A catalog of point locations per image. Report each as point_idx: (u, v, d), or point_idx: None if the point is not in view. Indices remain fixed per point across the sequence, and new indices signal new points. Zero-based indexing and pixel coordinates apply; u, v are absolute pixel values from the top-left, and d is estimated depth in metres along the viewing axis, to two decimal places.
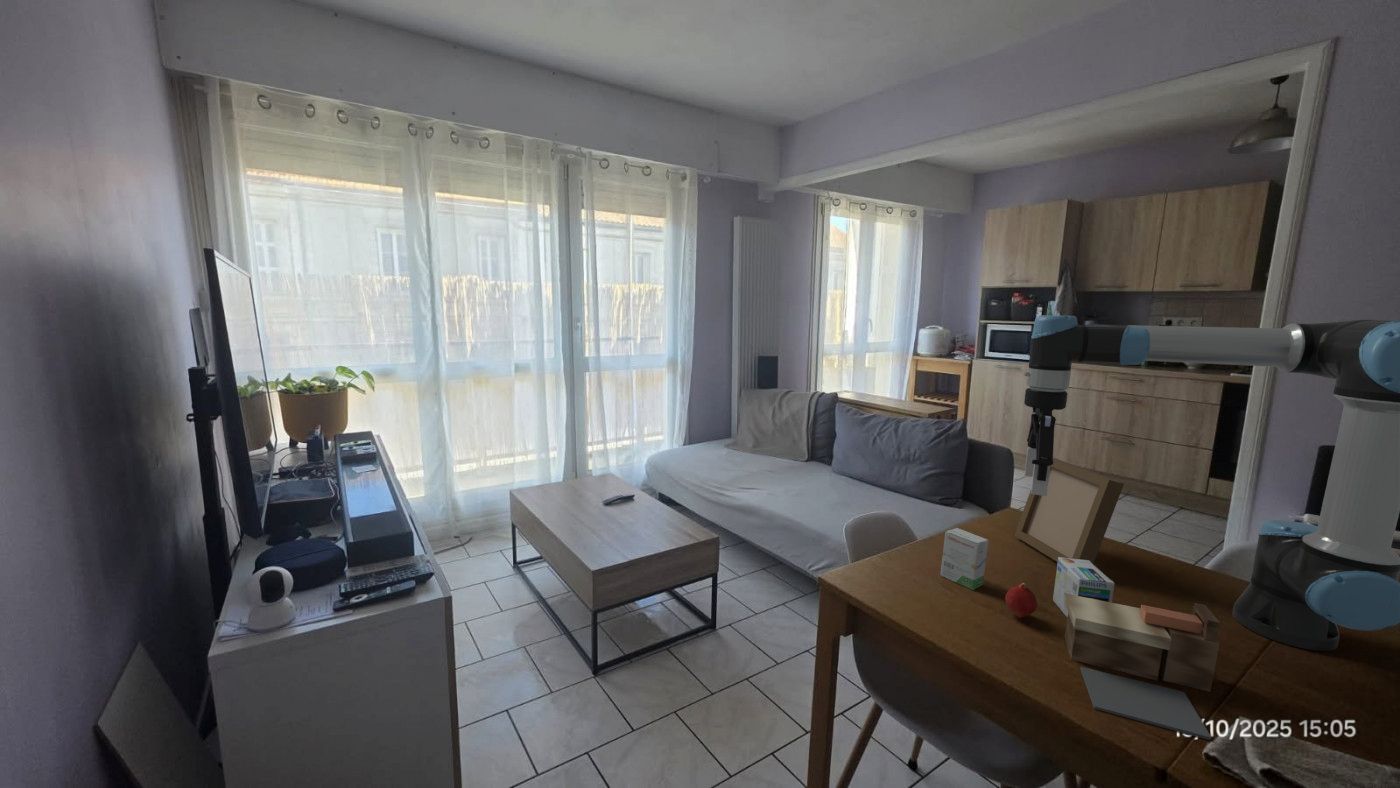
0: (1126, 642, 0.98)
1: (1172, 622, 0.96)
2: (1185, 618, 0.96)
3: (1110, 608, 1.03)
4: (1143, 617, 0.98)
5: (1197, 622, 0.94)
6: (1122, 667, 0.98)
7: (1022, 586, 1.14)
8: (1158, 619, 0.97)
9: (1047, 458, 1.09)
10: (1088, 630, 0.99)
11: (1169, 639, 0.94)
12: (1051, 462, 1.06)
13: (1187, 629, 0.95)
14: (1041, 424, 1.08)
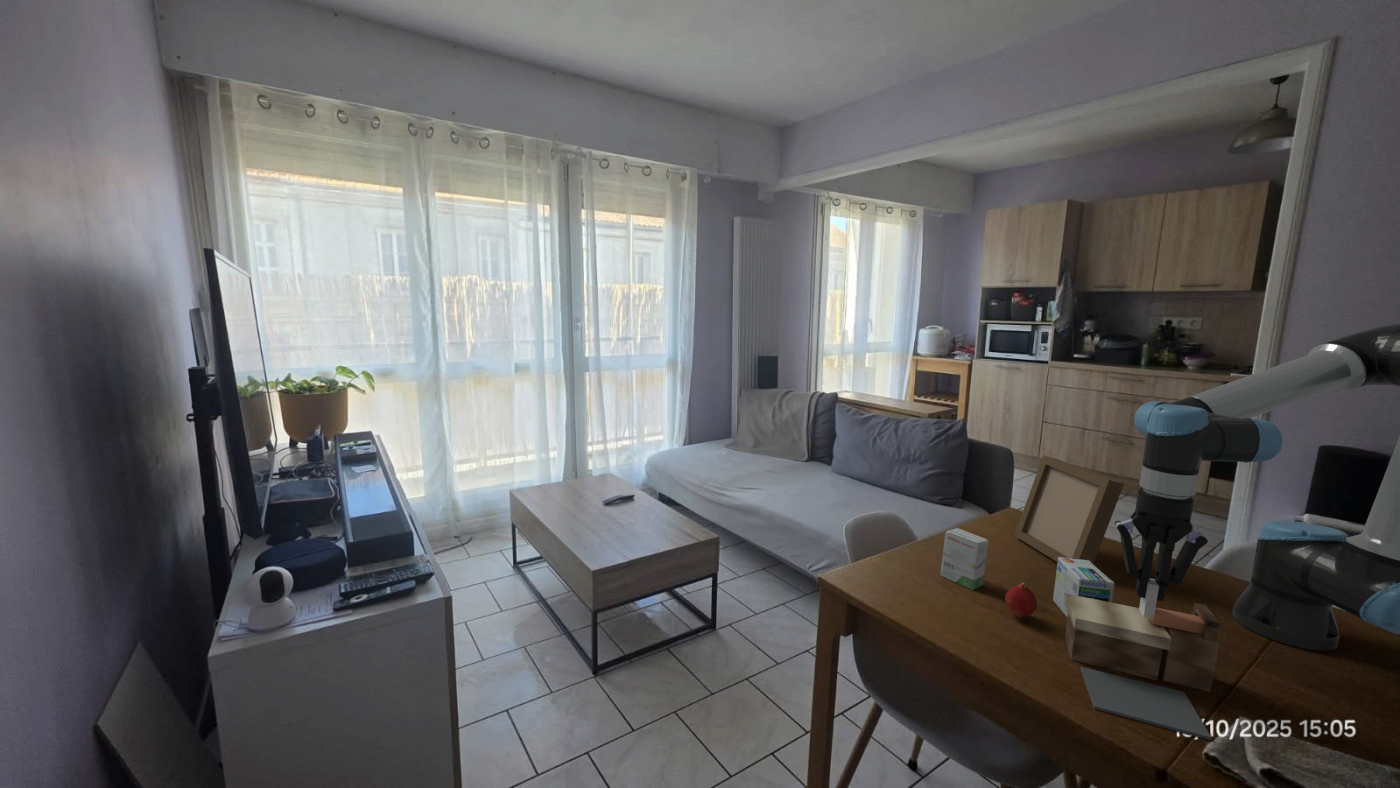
0: (1126, 642, 0.98)
1: (1181, 624, 0.95)
2: (1195, 620, 0.95)
3: (1110, 608, 1.03)
4: (1152, 619, 0.98)
5: None
6: (1122, 667, 0.98)
7: (1022, 586, 1.14)
8: (1167, 621, 0.96)
9: None
10: (1088, 630, 0.99)
11: (1169, 639, 0.94)
12: (1129, 574, 0.98)
13: (1196, 631, 0.95)
14: (1118, 530, 0.99)
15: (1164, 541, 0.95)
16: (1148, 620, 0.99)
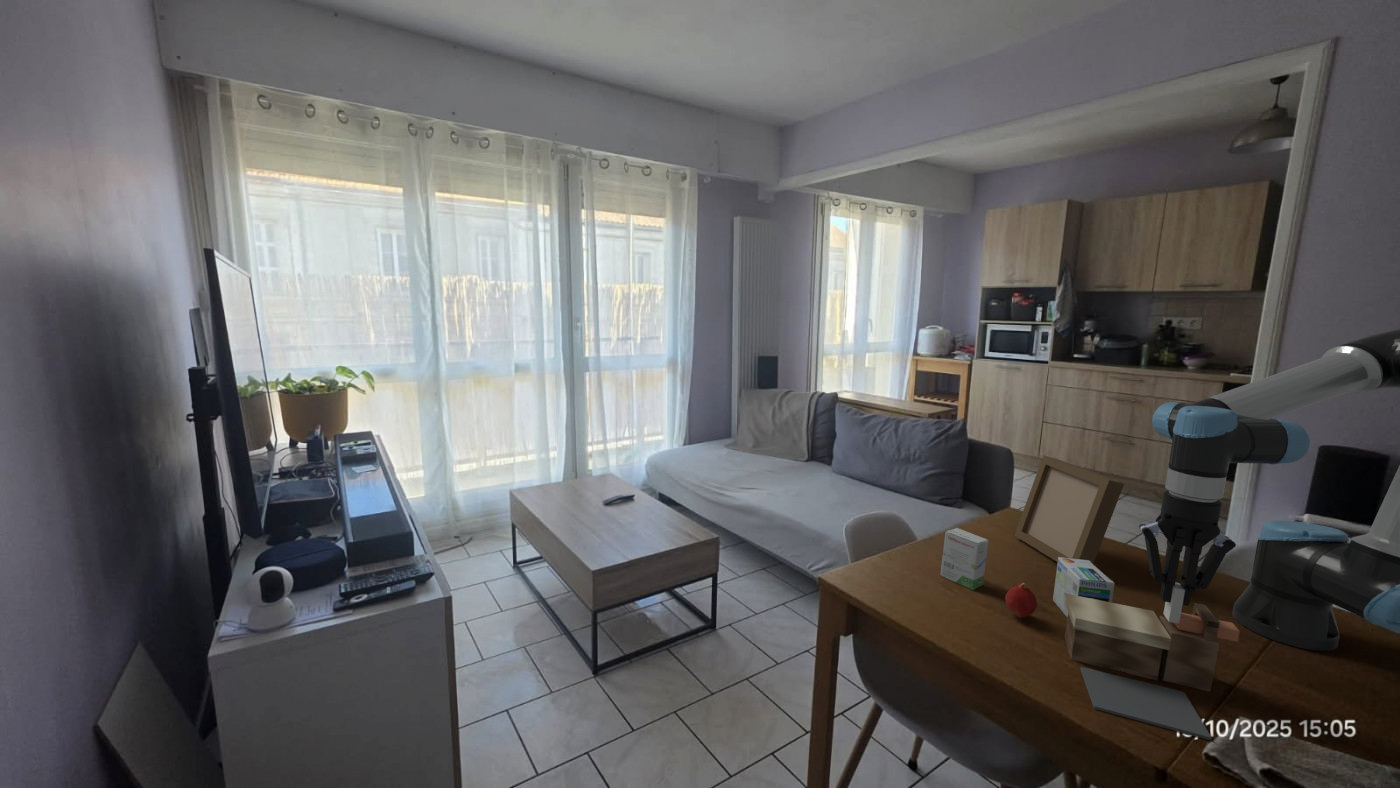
0: (1126, 642, 0.98)
1: None
2: (1221, 625, 0.93)
3: (1110, 608, 1.03)
4: (1177, 624, 0.96)
5: (1234, 629, 0.92)
6: (1122, 667, 0.98)
7: (1022, 586, 1.14)
8: (1193, 626, 0.95)
9: None
10: (1088, 630, 0.99)
11: (1169, 639, 0.94)
12: (1154, 578, 0.96)
13: (1223, 637, 0.93)
14: (1143, 534, 0.98)
15: (1191, 545, 0.93)
16: (1148, 620, 0.99)
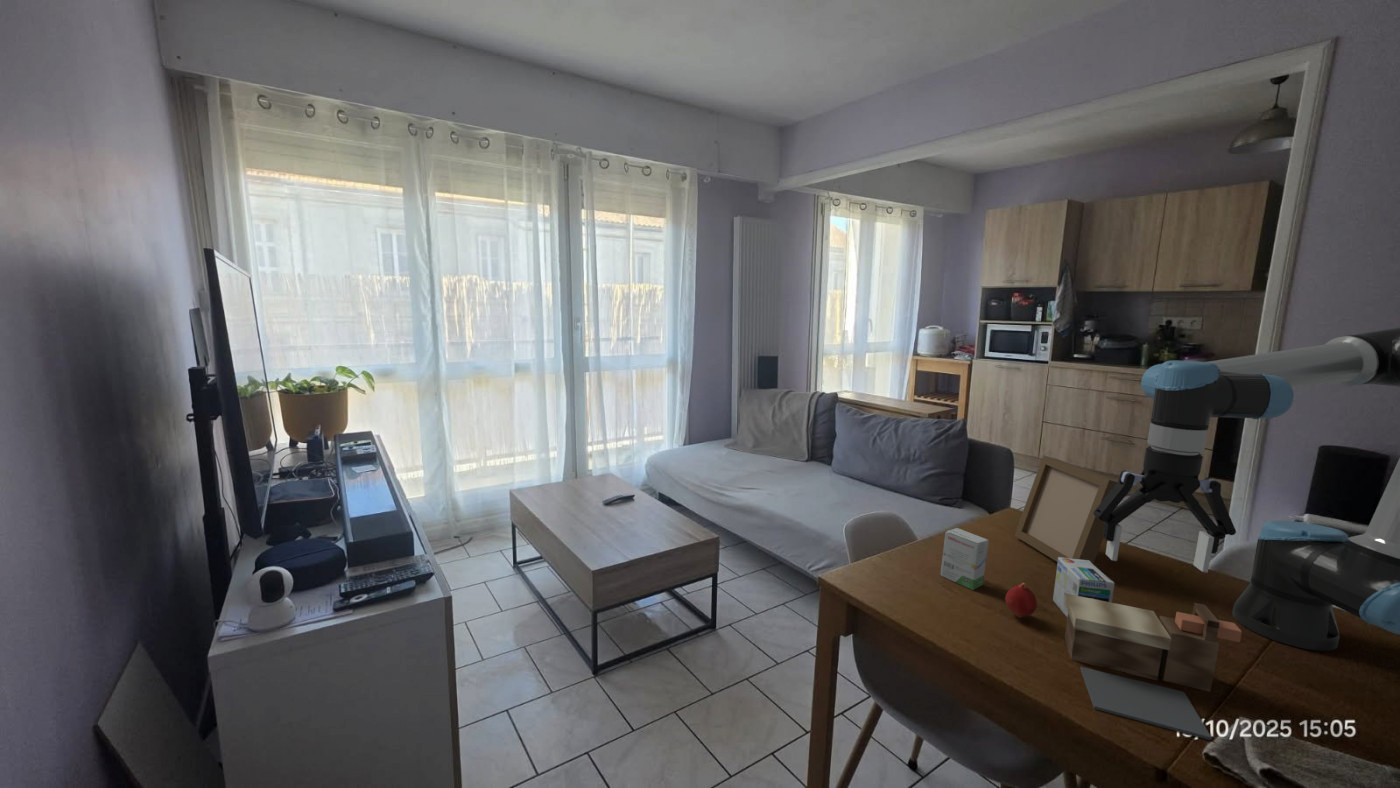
0: (1126, 642, 0.98)
1: None
2: (1224, 626, 0.93)
3: (1110, 608, 1.03)
4: (1179, 624, 0.96)
5: (1236, 630, 0.92)
6: (1122, 667, 0.98)
7: (1022, 586, 1.14)
8: (1195, 627, 0.95)
9: None
10: (1088, 630, 0.99)
11: (1169, 639, 0.94)
12: (1098, 516, 0.97)
13: (1225, 637, 0.93)
14: (1119, 479, 0.97)
15: (1184, 500, 0.93)
16: (1148, 620, 0.99)
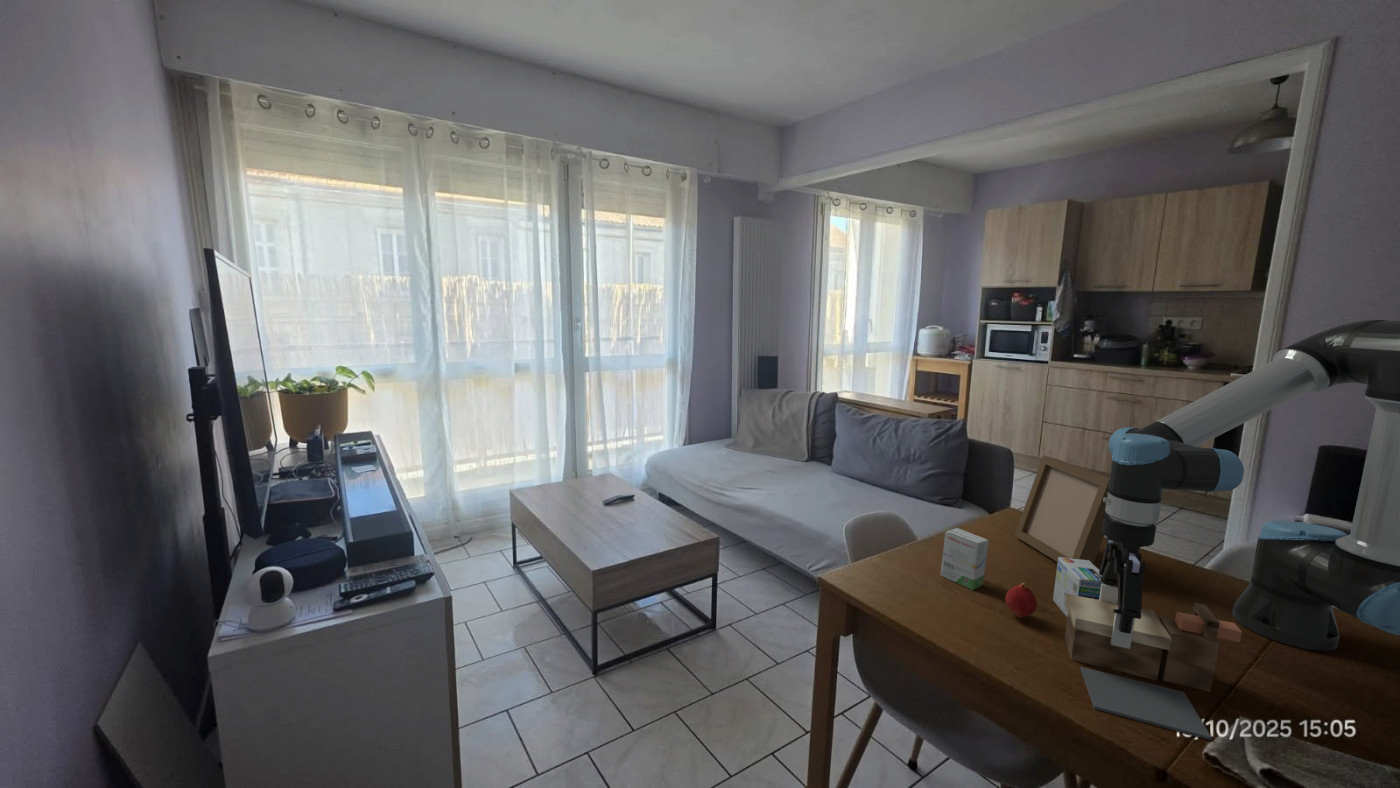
0: None
1: None
2: (1224, 626, 0.93)
3: (1110, 608, 1.03)
4: (1179, 624, 0.96)
5: (1236, 630, 0.92)
6: (1122, 667, 0.98)
7: (1022, 586, 1.14)
8: (1195, 627, 0.95)
9: None
10: (1088, 630, 0.99)
11: (1169, 639, 0.94)
12: (1139, 617, 0.92)
13: (1225, 637, 0.93)
14: (1127, 570, 0.93)
15: None
16: (1148, 620, 0.99)
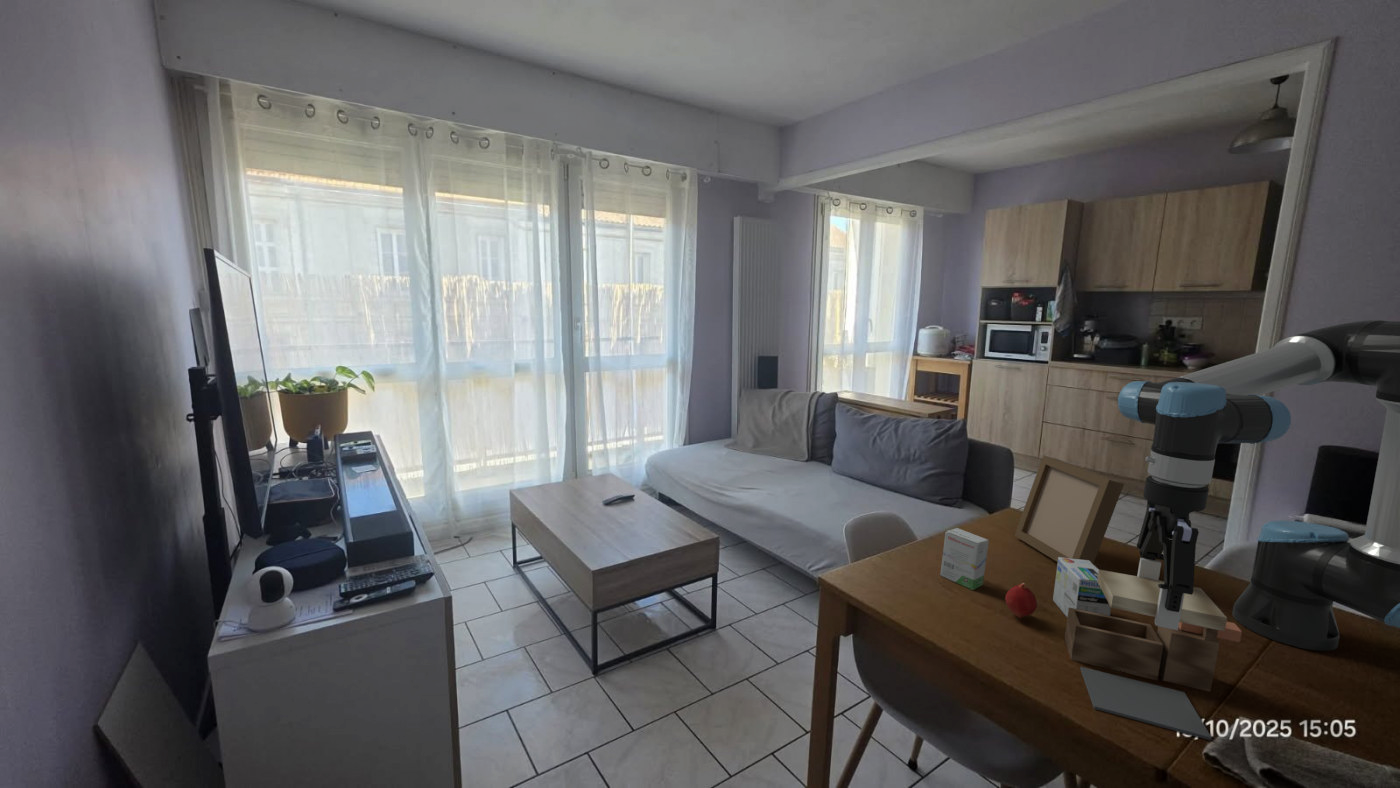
0: (1126, 642, 0.98)
1: None
2: None
3: (1151, 585, 0.90)
4: (1179, 624, 0.96)
5: (1236, 630, 0.92)
6: (1122, 667, 0.98)
7: (1022, 586, 1.14)
8: (1195, 627, 0.95)
9: None
10: (1128, 609, 0.86)
11: (1224, 618, 0.81)
12: (1191, 592, 0.79)
13: (1225, 637, 0.93)
14: (1177, 538, 0.80)
15: None
16: (1197, 598, 0.86)
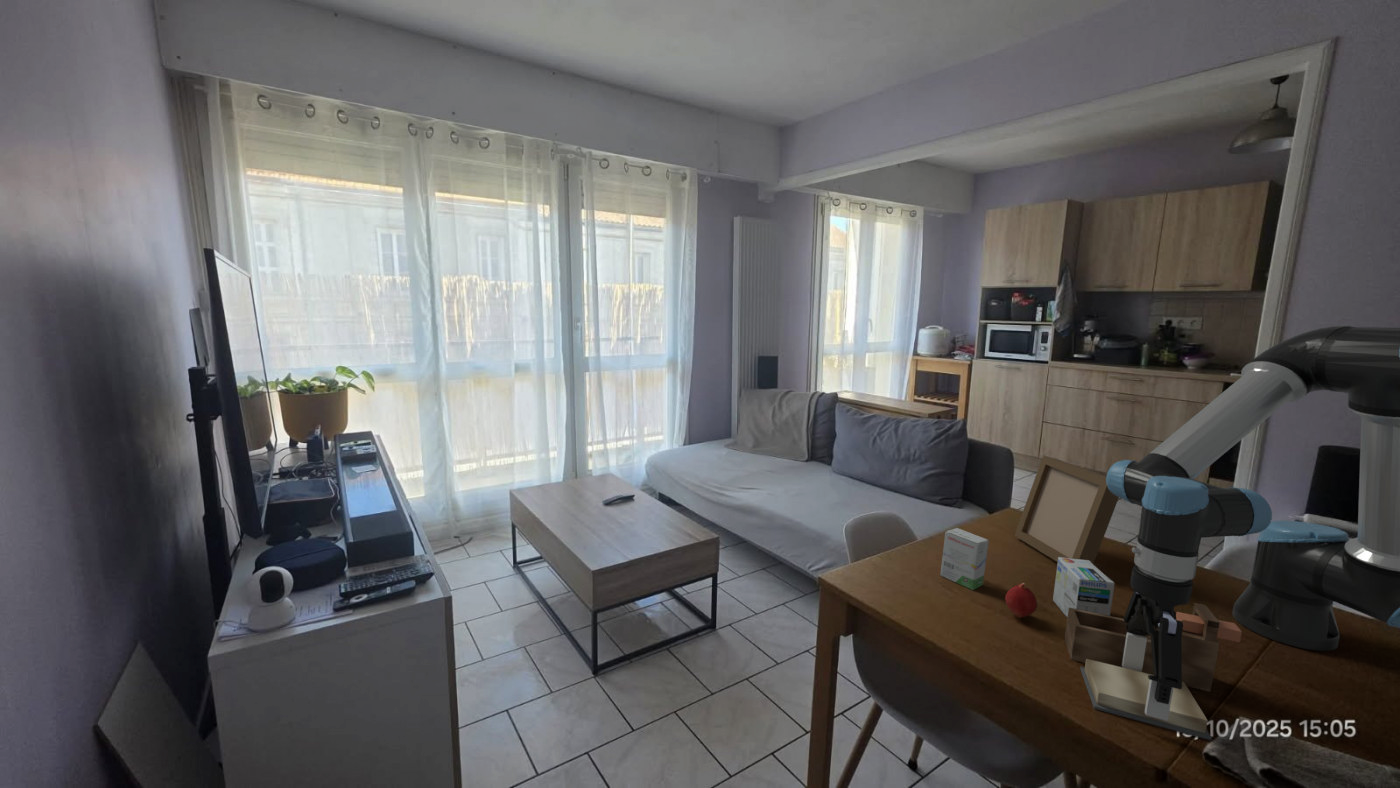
0: None
1: None
2: (1224, 626, 0.93)
3: (1136, 679, 0.93)
4: None
5: (1236, 630, 0.92)
6: None
7: (1022, 586, 1.14)
8: (1195, 627, 0.95)
9: None
10: (1113, 706, 0.89)
11: (1205, 721, 0.84)
12: (1180, 686, 0.80)
13: (1225, 637, 0.93)
14: (1163, 630, 0.82)
15: None
16: (1179, 695, 0.89)
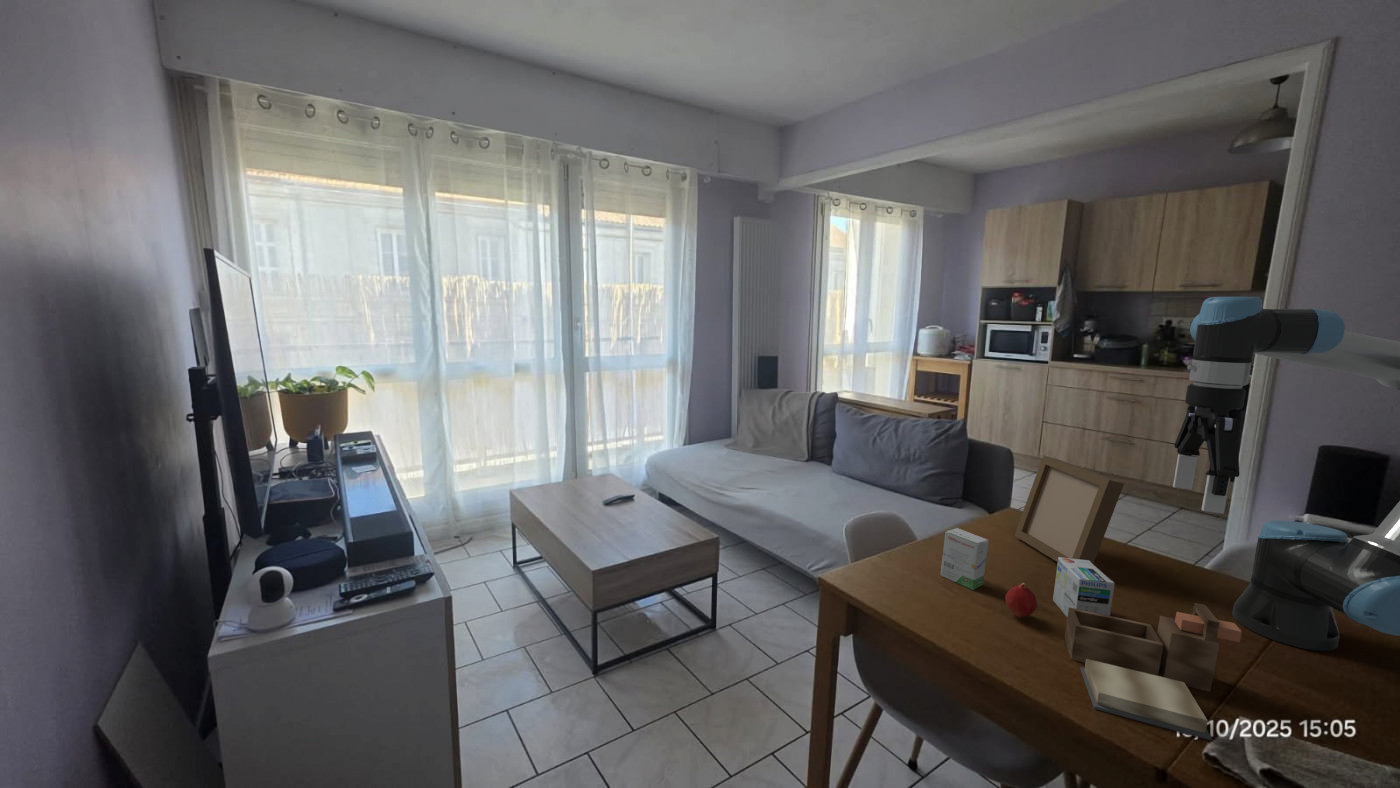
0: (1126, 642, 0.98)
1: None
2: (1224, 626, 0.93)
3: (1136, 679, 0.93)
4: (1179, 624, 0.96)
5: (1236, 630, 0.92)
6: None
7: (1022, 586, 1.14)
8: (1195, 627, 0.95)
9: (1226, 468, 0.90)
10: (1113, 706, 0.89)
11: (1205, 721, 0.84)
12: (1237, 473, 0.87)
13: (1225, 637, 0.93)
14: (1220, 427, 0.90)
15: None
16: (1179, 695, 0.89)
